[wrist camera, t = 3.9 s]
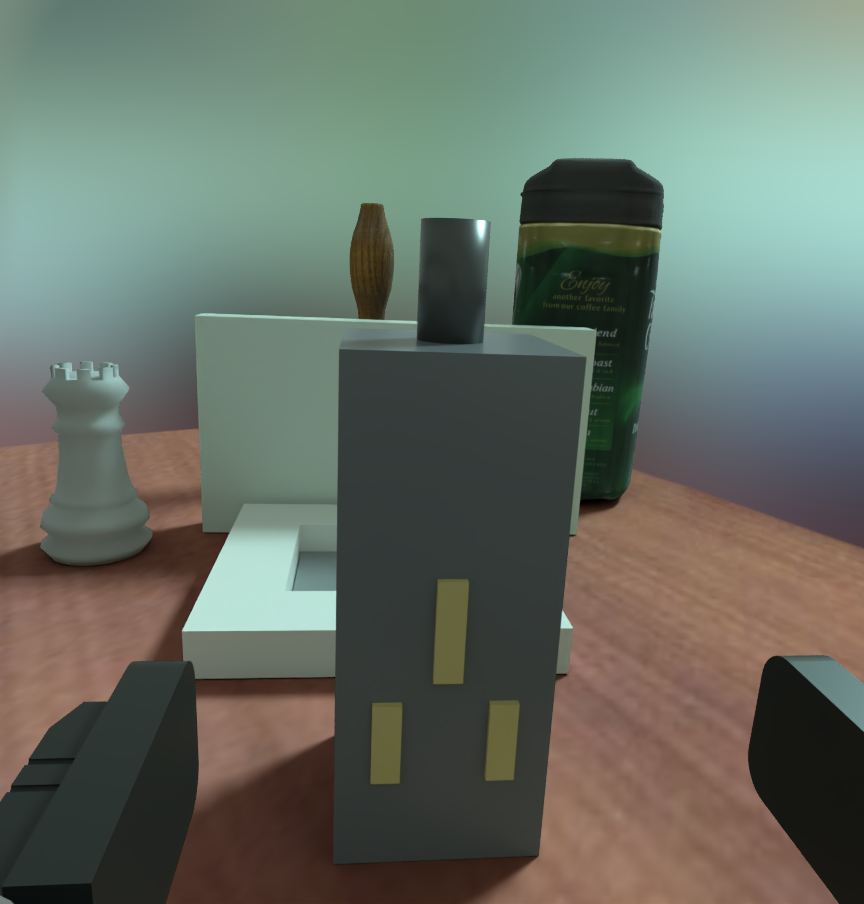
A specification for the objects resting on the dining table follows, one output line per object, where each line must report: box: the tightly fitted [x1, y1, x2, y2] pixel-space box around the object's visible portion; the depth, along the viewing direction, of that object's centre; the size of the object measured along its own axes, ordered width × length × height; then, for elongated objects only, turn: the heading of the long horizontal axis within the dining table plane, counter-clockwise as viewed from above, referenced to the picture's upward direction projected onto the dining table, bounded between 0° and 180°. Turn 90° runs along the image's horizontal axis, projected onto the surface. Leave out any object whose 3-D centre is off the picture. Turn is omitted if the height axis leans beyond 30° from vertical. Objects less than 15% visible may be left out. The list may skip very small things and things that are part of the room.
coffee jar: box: [512, 158, 664, 500], centre depth 42 cm, size 10×8×19 cm
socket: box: [182, 313, 597, 679], centre depth 28 cm, size 18×14×10 cm
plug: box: [333, 218, 587, 864], centre depth 16 cm, size 4×5×13 cm
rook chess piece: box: [40, 362, 153, 566], centre depth 30 cm, size 4×4×8 cm
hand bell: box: [350, 203, 394, 320], centre depth 43 cm, size 8×8×16 cm
